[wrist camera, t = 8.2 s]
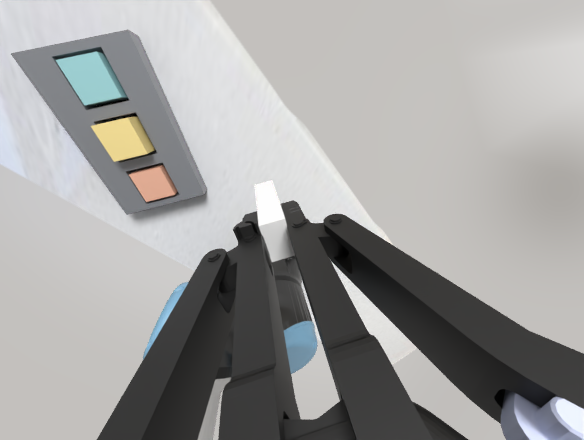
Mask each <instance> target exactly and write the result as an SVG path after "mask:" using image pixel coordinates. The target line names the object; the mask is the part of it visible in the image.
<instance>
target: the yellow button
mask: <svg viewBox="0 0 584 440" xmlns="http://www.w3.org/2000/svg"><path fill="white" fill-rule="evenodd" d="M91 128H92V129H93V131H94V132H95V134H96V135H97V137H98V138H99V140H100V141H101V143H102V144H103V146H104V148H105V149H106V151H107V152H108V154H109V155H110V157H111V158H112V160H113V161H114V162H116V161H120V160H124V159H128V158H132V157H136V156H140V155H144V154H148V153H150V152H152V151H154V150H155V149H154V147H153V145H152V143H151V141H150V139H149V137H148V135H147V134H146V132H145V130H144V128H143V126H142V124H141V122H140V120H139V119H138V117H137V116H136V117H128V118H123V119H119V120H115V121H110V122H106V123H101V124H97V125H93V126H91Z"/></svg>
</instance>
